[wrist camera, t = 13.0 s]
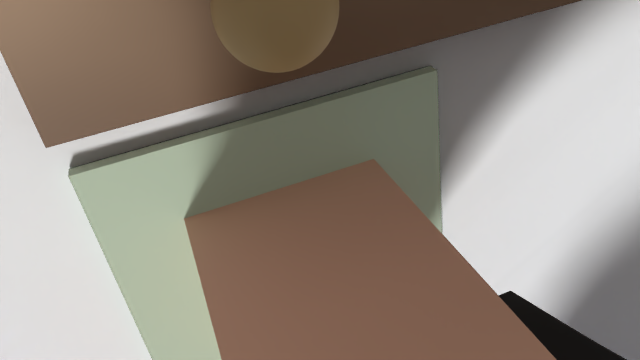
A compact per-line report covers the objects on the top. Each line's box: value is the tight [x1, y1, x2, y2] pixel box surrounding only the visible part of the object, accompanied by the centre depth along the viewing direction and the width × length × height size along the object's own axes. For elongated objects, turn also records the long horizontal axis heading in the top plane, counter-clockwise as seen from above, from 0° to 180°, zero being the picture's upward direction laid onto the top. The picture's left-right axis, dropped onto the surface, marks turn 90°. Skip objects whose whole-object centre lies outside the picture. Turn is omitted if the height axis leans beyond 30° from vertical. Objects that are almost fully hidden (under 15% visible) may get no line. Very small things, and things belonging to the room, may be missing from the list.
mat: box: [68, 66, 442, 360], centre depth 14 cm, size 8×8×1 cm
